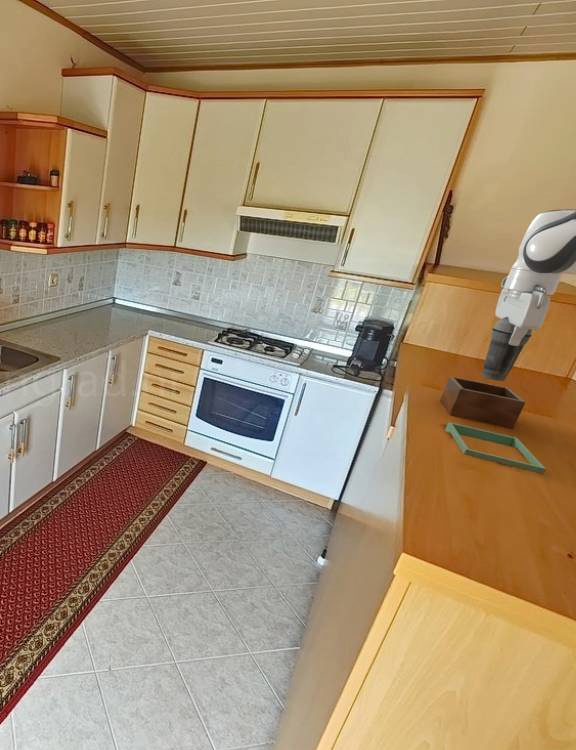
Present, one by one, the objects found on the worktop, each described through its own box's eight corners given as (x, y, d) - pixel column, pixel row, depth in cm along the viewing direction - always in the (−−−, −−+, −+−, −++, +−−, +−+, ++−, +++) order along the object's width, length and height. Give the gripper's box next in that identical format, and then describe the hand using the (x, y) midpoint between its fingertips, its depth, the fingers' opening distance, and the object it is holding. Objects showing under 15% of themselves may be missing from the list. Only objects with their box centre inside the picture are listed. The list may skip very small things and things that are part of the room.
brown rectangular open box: (497, 412, 127) (508, 387, 124) (513, 429, 116) (525, 402, 114) (439, 400, 132) (449, 375, 129) (449, 414, 121) (460, 388, 119)
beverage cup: (475, 377, 119) (508, 295, 112) (473, 371, 125) (503, 293, 118) (514, 385, 115) (550, 301, 109) (509, 378, 121) (543, 298, 114)
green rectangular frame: (512, 448, 104) (517, 437, 104) (540, 480, 91) (546, 468, 90) (444, 432, 109) (448, 421, 108) (460, 460, 96) (465, 449, 95)
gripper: (567, 290, 102) (539, 353, 107) (533, 282, 120) (510, 337, 124) (529, 285, 105) (503, 347, 110) (501, 278, 122) (480, 332, 127)
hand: (507, 341), depth 117 cm, fingers closed on beverage cup, 6 cm apart
